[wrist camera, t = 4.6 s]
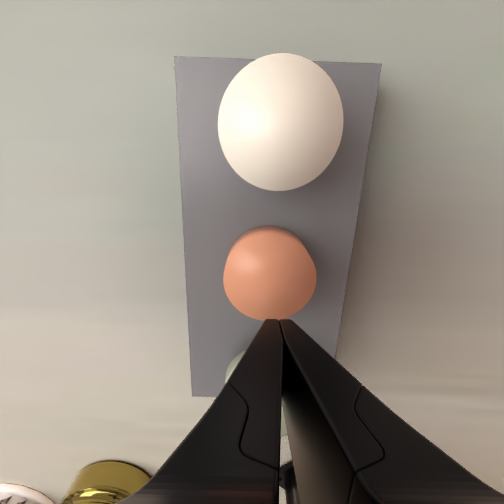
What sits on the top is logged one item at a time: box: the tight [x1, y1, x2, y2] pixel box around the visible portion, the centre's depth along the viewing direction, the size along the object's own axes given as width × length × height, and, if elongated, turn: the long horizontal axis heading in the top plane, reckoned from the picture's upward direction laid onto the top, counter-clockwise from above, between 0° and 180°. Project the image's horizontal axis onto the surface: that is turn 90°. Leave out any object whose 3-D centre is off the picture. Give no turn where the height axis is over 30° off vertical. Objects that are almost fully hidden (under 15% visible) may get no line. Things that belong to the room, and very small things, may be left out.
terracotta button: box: [223, 225, 316, 321], centre depth 14 cm, size 4×4×2 cm
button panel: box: [174, 56, 382, 397], centre depth 16 cm, size 19×9×2 cm, turn 178°
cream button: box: [218, 53, 344, 191], centre depth 11 cm, size 4×4×2 cm
